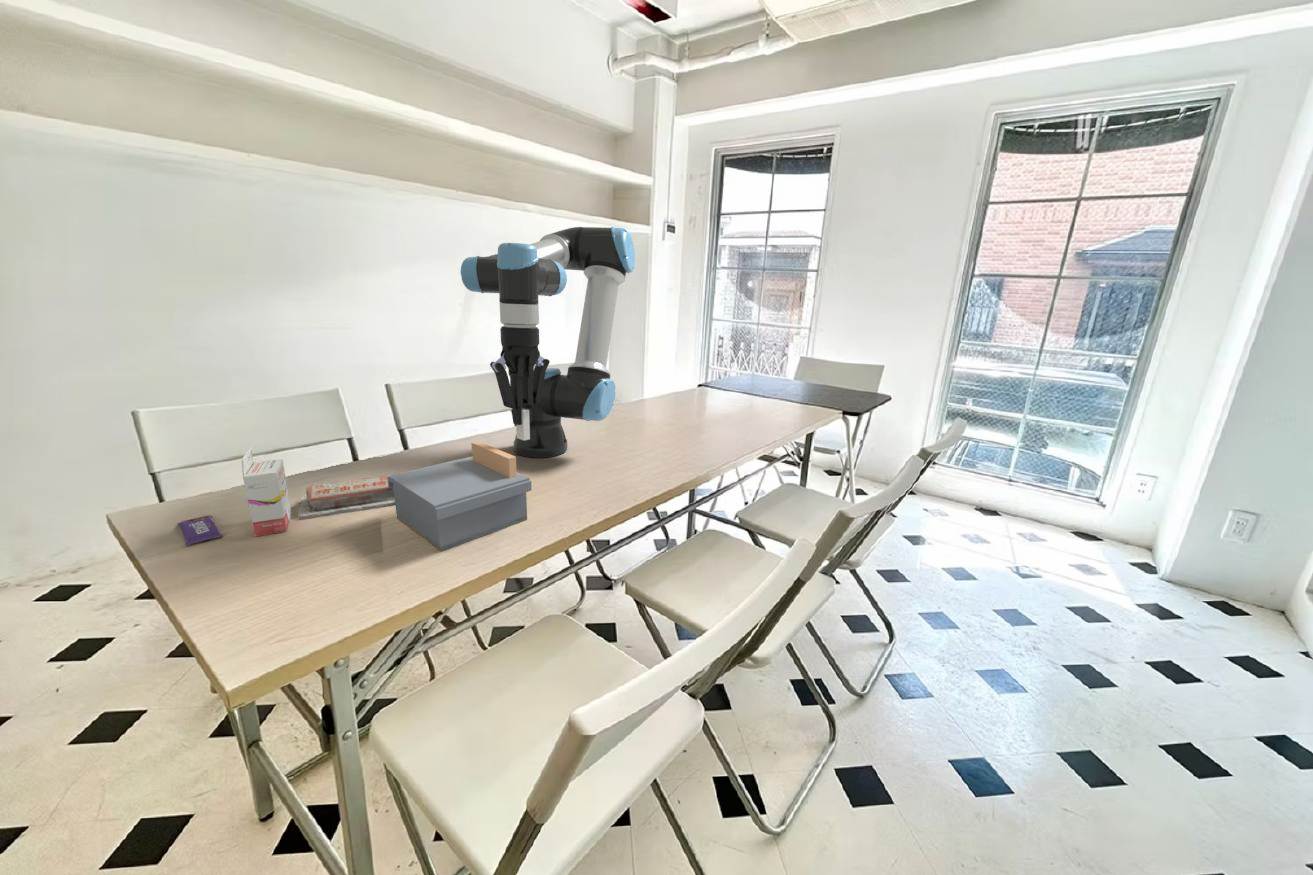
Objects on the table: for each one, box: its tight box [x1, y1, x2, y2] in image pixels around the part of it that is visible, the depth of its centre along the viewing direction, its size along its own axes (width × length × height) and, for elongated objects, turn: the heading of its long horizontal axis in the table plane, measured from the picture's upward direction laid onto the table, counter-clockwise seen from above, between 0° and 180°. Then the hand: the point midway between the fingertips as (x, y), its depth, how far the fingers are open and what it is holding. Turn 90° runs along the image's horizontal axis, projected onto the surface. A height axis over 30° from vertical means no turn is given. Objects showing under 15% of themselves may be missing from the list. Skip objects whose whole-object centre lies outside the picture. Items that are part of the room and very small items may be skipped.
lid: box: [387, 440, 532, 520], centre depth 97 cm, size 19×20×6 cm
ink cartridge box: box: [241, 447, 293, 537], centre depth 93 cm, size 9×5×15 cm, turn 29°
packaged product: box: [297, 475, 395, 521], centre depth 105 cm, size 18×5×10 cm
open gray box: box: [393, 484, 528, 553], centre depth 99 cm, size 18×18×8 cm
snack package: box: [177, 514, 223, 546], centre depth 91 cm, size 12×2×5 cm
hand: (523, 438), depth 107 cm, fingers closed
